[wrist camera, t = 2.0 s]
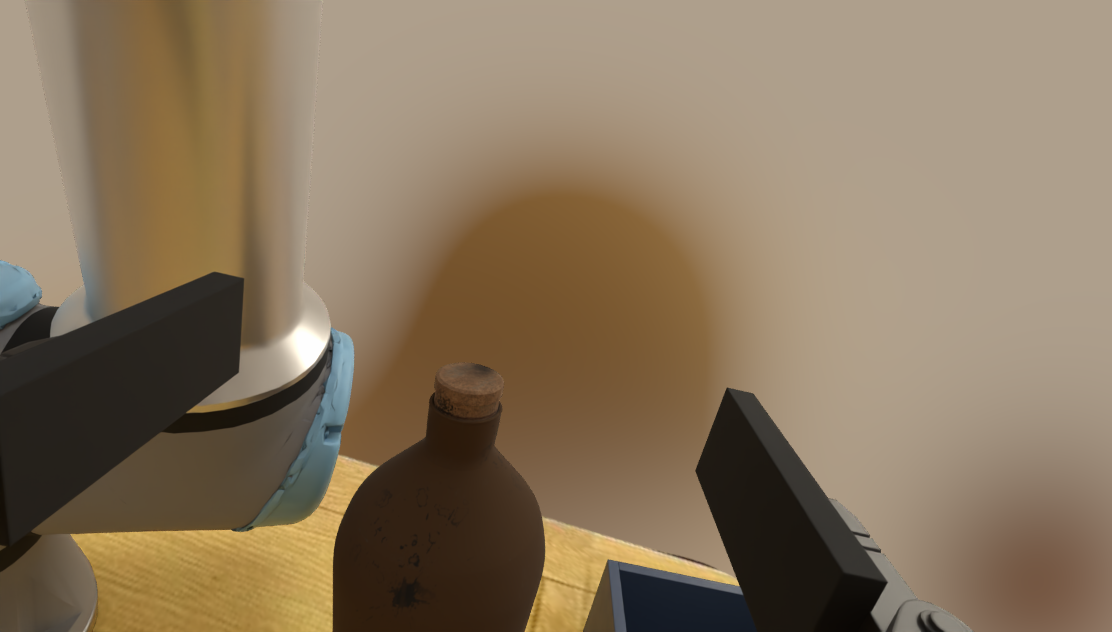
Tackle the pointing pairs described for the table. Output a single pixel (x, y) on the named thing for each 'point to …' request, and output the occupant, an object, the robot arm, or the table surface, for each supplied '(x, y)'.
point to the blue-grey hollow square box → (665, 603)
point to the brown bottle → (442, 526)
